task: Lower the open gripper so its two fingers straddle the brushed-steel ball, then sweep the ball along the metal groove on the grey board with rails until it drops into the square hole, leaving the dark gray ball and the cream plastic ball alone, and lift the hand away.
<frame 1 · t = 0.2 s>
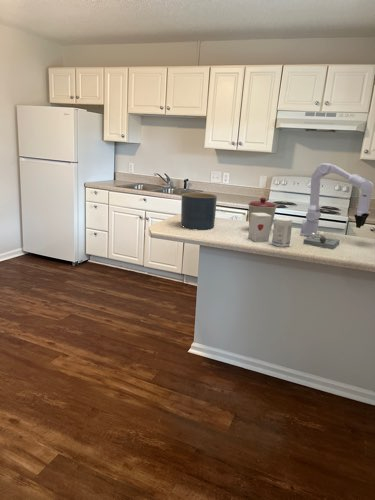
hand: (359, 226, 211), 10 cm above the countertop, tool pointing down, fingers open, 7 cm apart
grey board with rails: (321, 243, 209), on the countertop
canister: (259, 230, 235), on the countertop
dark gray ball: (322, 239, 202), point 4 cm above the countertop, touching grey board with rails
supplement box: (258, 240, 212), on the countertop
supplement tub: (280, 245, 203), on the countertop
planter: (197, 226, 238), on the countertop
steel ball: (313, 235, 211), point 4 cm above the countertop, touching grey board with rails
cream ball: (321, 234, 214), point 4 cm above the countertop, touching grey board with rails
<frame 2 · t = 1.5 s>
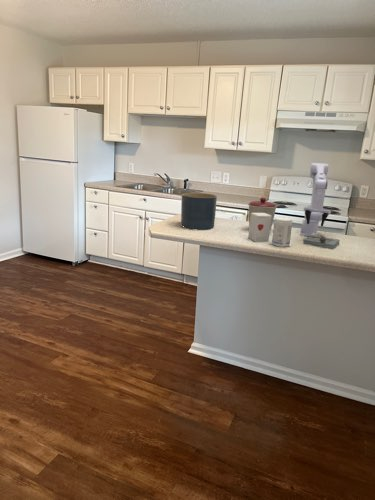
hand: (314, 225, 209), 10 cm above the countertop, tool pointing down, fingers open, 7 cm apart
nothing on the countertop moved.
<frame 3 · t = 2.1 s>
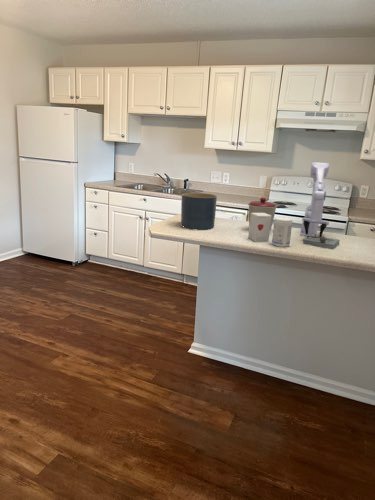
hand: (313, 235, 211), 4 cm above the countertop, tool pointing down, fingers open, 7 cm apart
nothing on the countertop moved.
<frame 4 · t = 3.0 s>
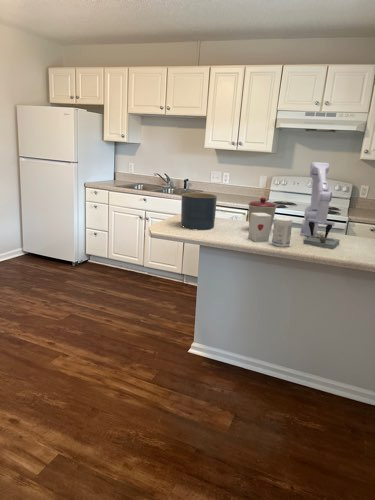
hand: (318, 236, 209), 4 cm above the countertop, tool pointing down, fingers open, 7 cm apart
steel ball: (316, 235, 210), point 4 cm above the countertop, tilted 53°, touching grey board with rails
everything else where it was.
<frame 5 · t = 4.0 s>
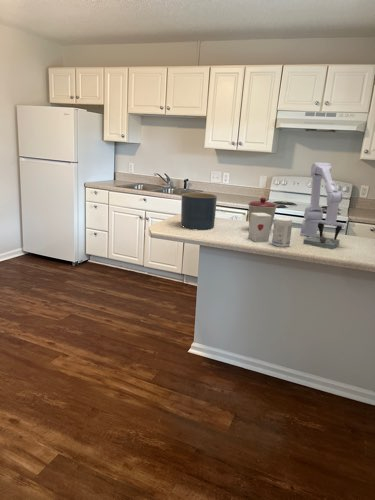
hand: (328, 238, 207), 4 cm above the countertop, tool pointing down, fingers open, 7 cm apart
steel ball: (327, 242, 207), point 2 cm above the countertop, tilted 19°
everything else where it was.
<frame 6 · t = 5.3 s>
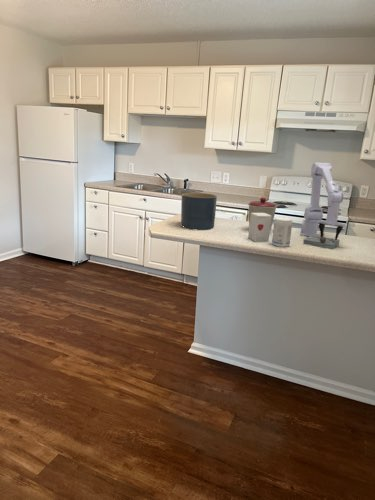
hand: (328, 238, 206), 4 cm above the countertop, tool pointing down, fingers open, 7 cm apart
steel ball: (326, 242, 208), point 2 cm above the countertop, tilted 48°
everything else where it was.
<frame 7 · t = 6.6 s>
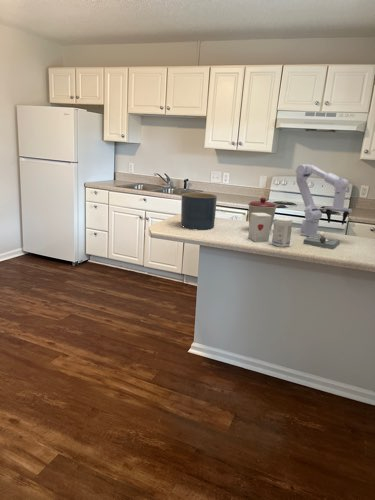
hand: (335, 223, 215), 10 cm above the countertop, tool pointing down, fingers open, 7 cm apart
steel ball: (326, 241, 208), point 2 cm above the countertop, tilted 56°
everything else where it was.
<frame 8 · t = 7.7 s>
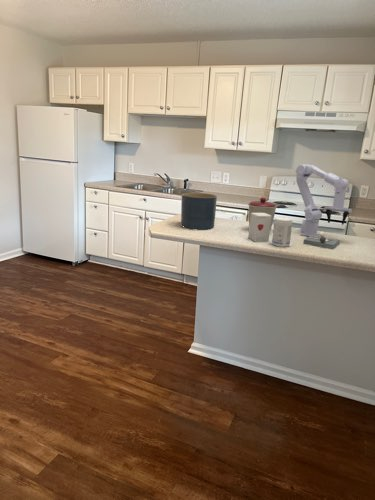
hand: (335, 223, 215), 10 cm above the countertop, tool pointing down, fingers open, 7 cm apart
nothing on the countertop moved.
at the end: steel ball 0.7 cm from the target spot on the grey board with rails, point 1.6 cm above the grey board with rails's base; dark gray ball moved 0.1 cm from its start; the gripper is holding nothing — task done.
